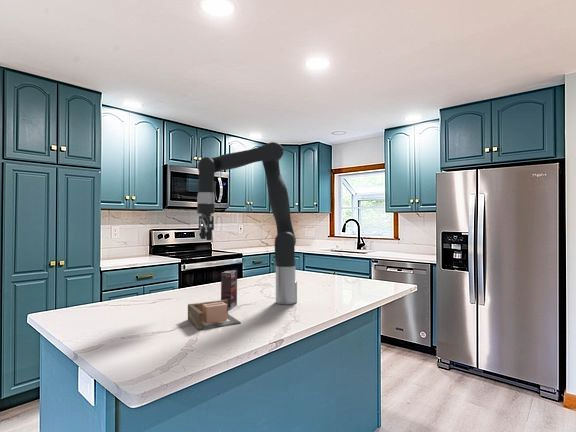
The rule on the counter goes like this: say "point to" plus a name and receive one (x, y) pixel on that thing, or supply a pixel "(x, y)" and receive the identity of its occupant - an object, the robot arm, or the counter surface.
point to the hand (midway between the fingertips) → (206, 239)
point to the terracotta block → (214, 312)
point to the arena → (197, 316)
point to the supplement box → (229, 287)
